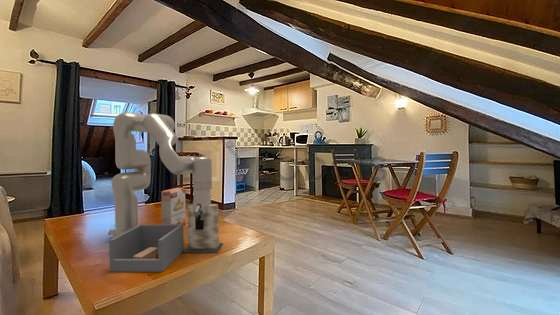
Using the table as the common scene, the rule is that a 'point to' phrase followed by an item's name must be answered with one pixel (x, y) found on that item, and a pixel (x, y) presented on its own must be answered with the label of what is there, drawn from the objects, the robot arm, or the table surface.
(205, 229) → the tall board
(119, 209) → the robot arm
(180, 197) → the cracker box
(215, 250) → the mat
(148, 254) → the upper offcut
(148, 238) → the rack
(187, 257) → the table surface
